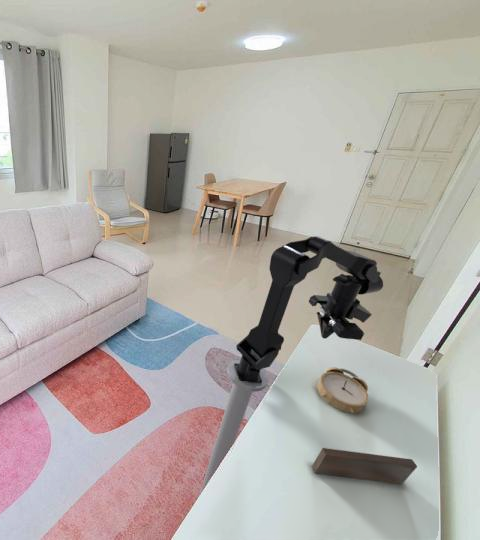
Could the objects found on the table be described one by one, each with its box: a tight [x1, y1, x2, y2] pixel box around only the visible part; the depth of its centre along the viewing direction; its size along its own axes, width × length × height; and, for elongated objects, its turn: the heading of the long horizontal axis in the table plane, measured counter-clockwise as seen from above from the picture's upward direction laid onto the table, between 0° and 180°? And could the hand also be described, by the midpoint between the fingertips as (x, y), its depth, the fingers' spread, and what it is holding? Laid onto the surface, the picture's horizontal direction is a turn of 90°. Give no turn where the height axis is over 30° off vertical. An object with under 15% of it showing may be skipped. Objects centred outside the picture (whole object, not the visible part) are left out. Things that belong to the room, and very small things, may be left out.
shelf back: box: [311, 447, 418, 486], centre depth 63 cm, size 2×18×7 cm, turn 84°
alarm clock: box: [316, 366, 370, 414], centre depth 84 cm, size 11×5×15 cm
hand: (323, 337), depth 92 cm, fingers closed
